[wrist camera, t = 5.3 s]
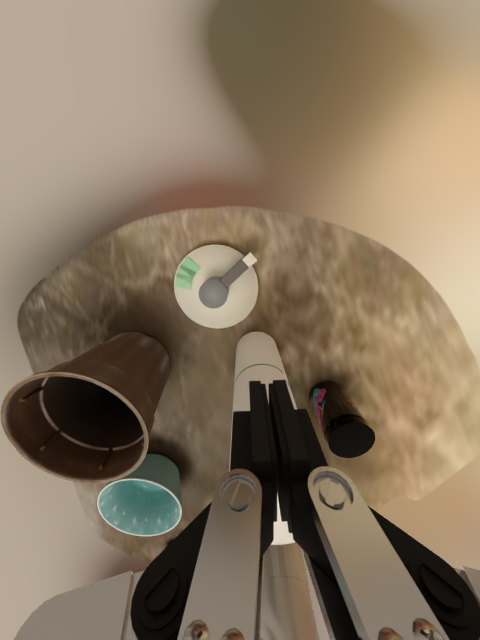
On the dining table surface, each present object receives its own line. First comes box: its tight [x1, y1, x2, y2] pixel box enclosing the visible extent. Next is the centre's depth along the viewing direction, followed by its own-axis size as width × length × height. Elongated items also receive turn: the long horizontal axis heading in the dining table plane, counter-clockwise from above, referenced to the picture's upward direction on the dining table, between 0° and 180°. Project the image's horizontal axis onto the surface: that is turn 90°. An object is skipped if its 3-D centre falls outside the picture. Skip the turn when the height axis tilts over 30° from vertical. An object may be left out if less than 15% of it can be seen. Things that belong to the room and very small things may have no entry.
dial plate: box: [174, 245, 258, 328], centre depth 35 cm, size 13×13×2 cm
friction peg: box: [199, 251, 257, 309], centre depth 31 cm, size 10×4×4 cm, turn 133°
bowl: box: [97, 454, 182, 536], centre depth 45 cm, size 16×16×8 cm
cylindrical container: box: [229, 332, 297, 545], centre depth 27 cm, size 7×7×25 cm
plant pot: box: [1, 332, 171, 483], centre depth 33 cm, size 16×16×16 cm
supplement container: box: [310, 382, 375, 458], centre depth 37 cm, size 7×7×10 cm
